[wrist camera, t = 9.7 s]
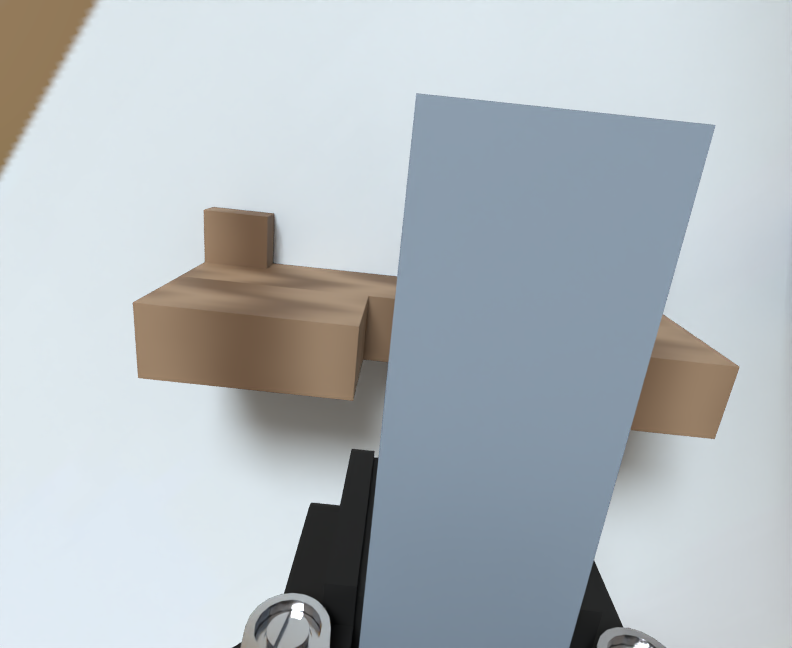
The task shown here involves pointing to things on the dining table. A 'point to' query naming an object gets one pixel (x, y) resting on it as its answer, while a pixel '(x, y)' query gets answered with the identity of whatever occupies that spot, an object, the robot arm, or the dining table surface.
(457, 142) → the slate grey plank
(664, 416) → the slotted base board
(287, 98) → the dining table surface
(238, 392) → the dining table surface
